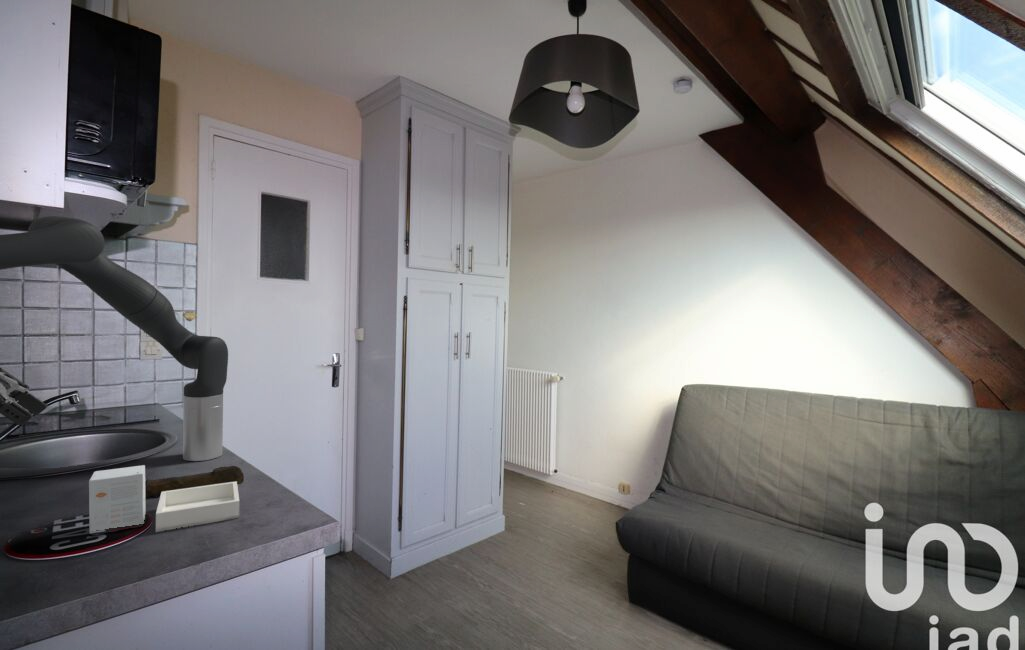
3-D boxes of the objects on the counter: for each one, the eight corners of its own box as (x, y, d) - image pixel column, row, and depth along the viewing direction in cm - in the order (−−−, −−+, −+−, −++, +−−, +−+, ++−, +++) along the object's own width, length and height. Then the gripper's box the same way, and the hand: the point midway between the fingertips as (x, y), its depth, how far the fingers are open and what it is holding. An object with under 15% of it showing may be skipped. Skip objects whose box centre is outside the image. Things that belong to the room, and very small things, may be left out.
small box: (146, 516, 97) (146, 464, 97) (143, 527, 93) (144, 473, 92) (93, 525, 93) (93, 470, 93) (88, 537, 88) (88, 480, 88)
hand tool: (142, 501, 105) (143, 480, 105) (145, 494, 108) (146, 474, 108) (243, 488, 114) (243, 468, 114) (243, 482, 118) (243, 463, 118)
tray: (161, 508, 101) (161, 491, 101) (236, 496, 108) (236, 481, 108) (155, 532, 91) (155, 513, 91) (239, 517, 98) (239, 500, 98)
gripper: (-57, 338, 75) (44, 407, 81) (-20, 333, 87) (65, 393, 93) (-110, 374, 72) (-1, 442, 79) (-64, 363, 84) (27, 423, 91)
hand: (35, 415), depth 86 cm, fingers open, 8 cm apart
